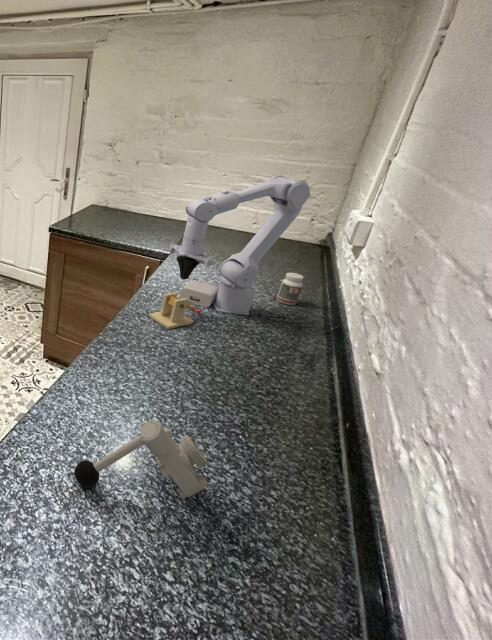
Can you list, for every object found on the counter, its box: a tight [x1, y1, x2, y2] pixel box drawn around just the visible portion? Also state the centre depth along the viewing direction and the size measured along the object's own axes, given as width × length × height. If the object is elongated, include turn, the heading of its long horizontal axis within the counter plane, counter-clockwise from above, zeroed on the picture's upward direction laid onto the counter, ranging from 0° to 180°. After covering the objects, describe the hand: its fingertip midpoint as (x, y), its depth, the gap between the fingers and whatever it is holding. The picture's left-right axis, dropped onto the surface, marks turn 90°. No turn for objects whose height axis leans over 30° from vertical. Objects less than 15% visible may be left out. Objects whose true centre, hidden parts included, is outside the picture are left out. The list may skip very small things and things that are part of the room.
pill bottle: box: [276, 272, 305, 306], centre depth 135 cm, size 6×6×10 cm
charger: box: [179, 280, 219, 308], centre depth 137 cm, size 5×9×15 cm
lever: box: [167, 296, 201, 315], centre depth 122 cm, size 11×6×2 cm, turn 112°
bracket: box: [148, 291, 194, 330], centre depth 121 cm, size 10×8×8 cm
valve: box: [74, 419, 209, 500], centre depth 69 cm, size 10×20×15 cm
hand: (184, 278), depth 127 cm, fingers closed
